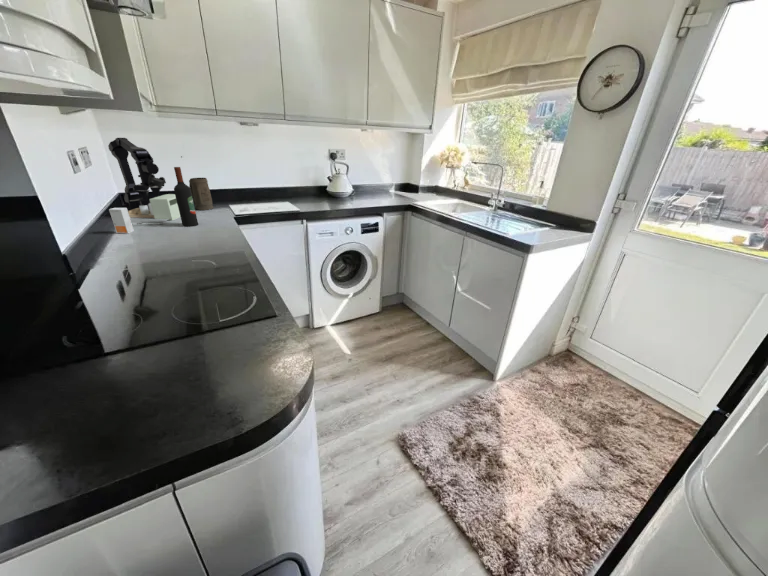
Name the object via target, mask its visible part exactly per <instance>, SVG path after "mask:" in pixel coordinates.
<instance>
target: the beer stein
mask: <svg viewBox="0 0 768 576" xmlns="http://www.w3.org/2000/svg"><path fill="white" fill-rule="evenodd" d="M208 182H209V181H208V179H207V177H192V178H189V180H188V183H189V187H190V190H191V194H192V198H193V203H194V207H195V210H196V209H197V210H196V211H210V210H209V209H211V210H214V208H215V207H214V204H213V198H212V194H211V190H210V187H209V183H208Z"/></svg>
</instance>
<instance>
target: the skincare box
mask: <svg viewBox="0 0 768 576" xmlns="http://www.w3.org/2000/svg"><path fill="white" fill-rule="evenodd" d="M108 211H109V215H110V216H111V217H110V218H111V220H112V224H113V226H114V229H115V233H116V234H126V235H127V234H131V233H134V232H135V230H134V226H133V224H132V220H131V217H129V214H128V211H129V210H128V208H127V207H113V208H109V209H108Z"/></svg>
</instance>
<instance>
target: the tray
mask: <svg viewBox="0 0 768 576" xmlns="http://www.w3.org/2000/svg"><path fill="white" fill-rule="evenodd" d="M149 213H150V210H149ZM128 214H129V217H130V218H140V219H141V218H143V219H144V218H145V219H146V218H148V219H149V218H150V219H152V218H153V219H155V217H154V215H151V213H150V214H148V215H142V214H141V211H140V208H136V209H132V210H131V209H130V210H128Z"/></svg>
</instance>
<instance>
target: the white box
mask: <svg viewBox="0 0 768 576" xmlns="http://www.w3.org/2000/svg"><path fill="white" fill-rule="evenodd" d="M147 206H148V210H149V211H150V213H151V215H154V214H153V210H152V206H151V203H150V202H149V203H148V204H147Z"/></svg>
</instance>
